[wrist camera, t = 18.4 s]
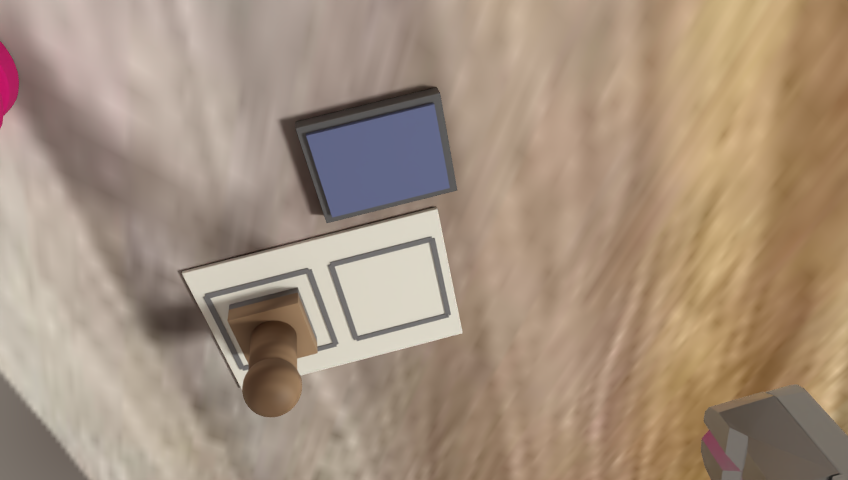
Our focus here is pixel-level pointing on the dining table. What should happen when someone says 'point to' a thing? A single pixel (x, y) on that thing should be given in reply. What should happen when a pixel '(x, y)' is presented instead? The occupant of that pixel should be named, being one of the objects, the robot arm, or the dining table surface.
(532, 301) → the dining table surface
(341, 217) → the ink pad
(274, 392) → the stamp
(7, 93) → the pepper mill
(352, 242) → the print card
